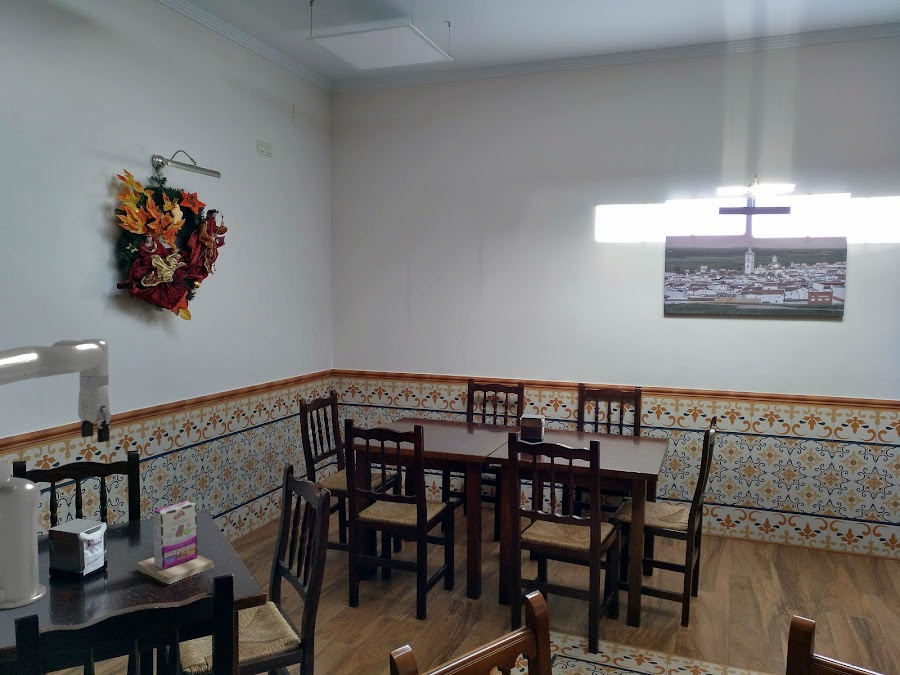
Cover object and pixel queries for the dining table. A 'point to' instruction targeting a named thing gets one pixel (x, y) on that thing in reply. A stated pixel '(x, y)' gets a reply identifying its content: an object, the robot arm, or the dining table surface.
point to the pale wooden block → (175, 569)
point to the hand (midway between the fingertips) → (95, 439)
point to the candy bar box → (175, 534)
